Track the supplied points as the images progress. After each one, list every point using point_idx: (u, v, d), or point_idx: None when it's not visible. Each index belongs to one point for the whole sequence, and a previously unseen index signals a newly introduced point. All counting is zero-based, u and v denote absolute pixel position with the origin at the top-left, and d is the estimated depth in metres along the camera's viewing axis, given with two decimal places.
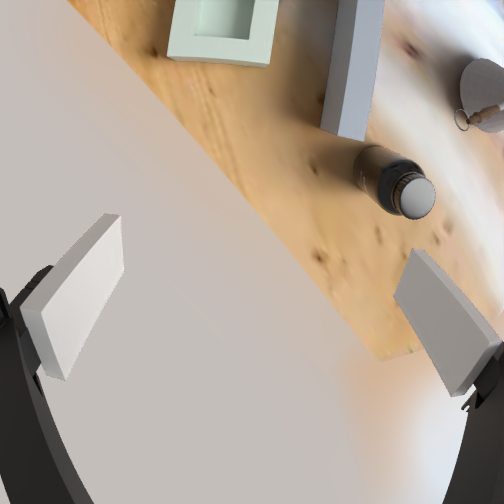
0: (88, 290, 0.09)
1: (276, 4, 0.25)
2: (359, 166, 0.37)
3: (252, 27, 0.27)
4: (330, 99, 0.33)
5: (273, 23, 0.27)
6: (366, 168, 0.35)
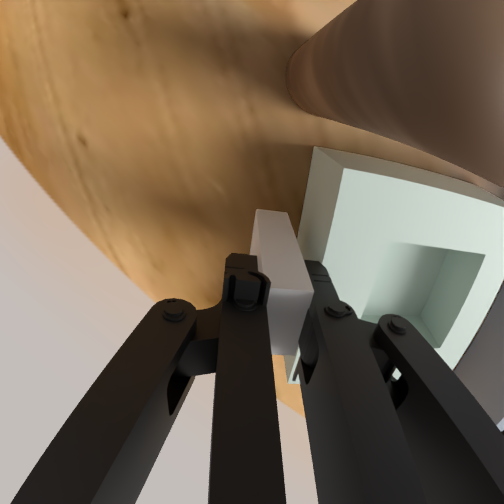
0: None
1: (502, 277, 0.13)
2: None
3: (454, 326, 0.14)
4: (483, 368, 0.20)
5: (484, 314, 0.14)
6: None
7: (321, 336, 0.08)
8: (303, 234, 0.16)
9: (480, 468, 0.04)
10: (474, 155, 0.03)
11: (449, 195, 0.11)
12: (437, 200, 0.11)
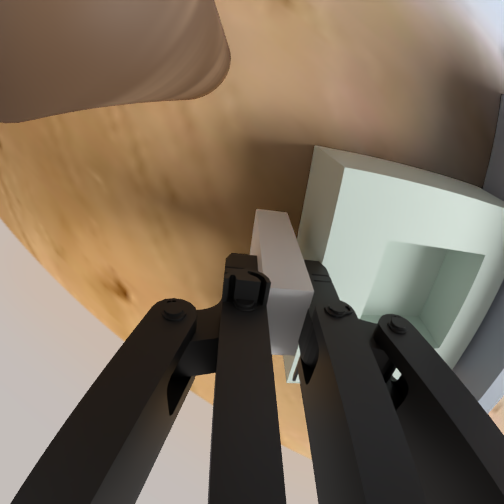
0: None
1: (502, 277, 0.13)
2: None
3: (453, 327, 0.14)
4: None
5: (483, 314, 0.14)
6: None
7: (321, 336, 0.08)
8: (303, 233, 0.16)
9: (480, 468, 0.04)
10: None
11: (449, 196, 0.11)
12: (437, 200, 0.11)
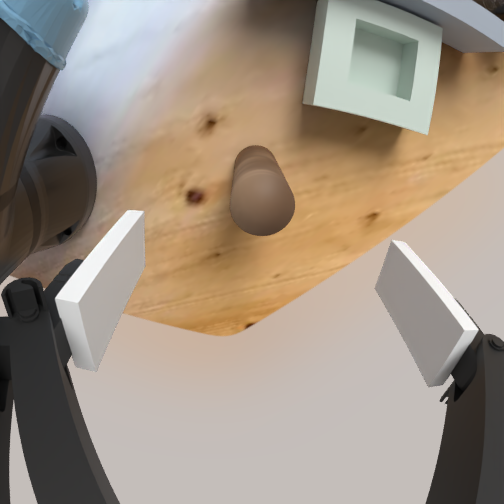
0: (117, 283, 0.10)
1: (371, 0, 0.18)
2: None
3: (403, 33, 0.19)
4: (451, 37, 0.20)
5: (397, 10, 0.18)
6: None
7: (482, 360, 0.07)
8: None
9: None
10: (288, 219, 0.20)
11: (323, 49, 0.20)
12: (326, 56, 0.21)
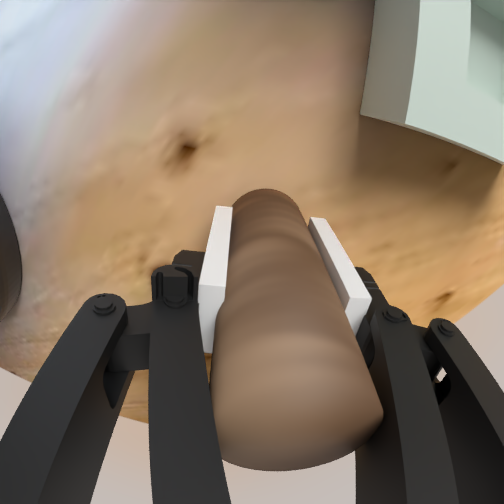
0: None
1: None
2: None
3: None
4: None
5: None
6: None
7: (379, 338, 0.08)
8: (439, 138, 0.13)
9: None
10: (354, 447, 0.07)
11: (423, 9, 0.07)
12: (429, 24, 0.08)
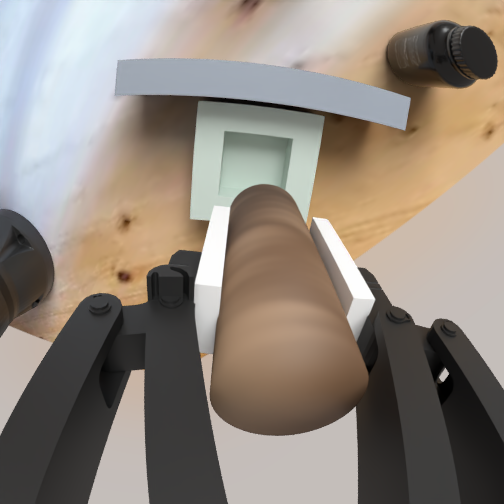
0: None
1: (240, 106, 0.25)
2: (415, 84, 0.26)
3: (275, 134, 0.26)
4: None
5: (269, 109, 0.25)
6: (424, 82, 0.24)
7: (382, 339, 0.08)
8: None
9: None
10: (344, 411, 0.08)
11: (194, 168, 0.27)
12: (197, 175, 0.27)
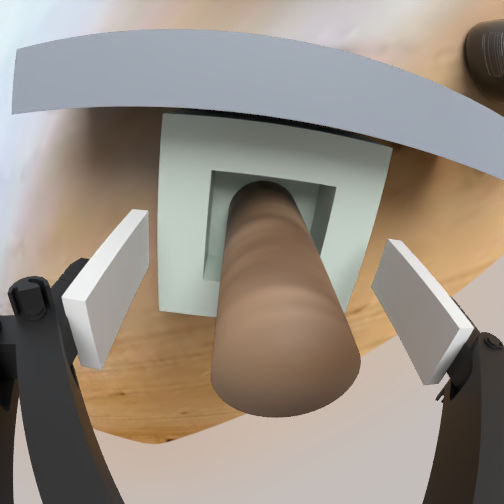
0: (122, 282, 0.10)
1: (242, 123, 0.13)
2: None
3: (306, 178, 0.14)
4: None
5: (296, 131, 0.13)
6: None
7: (478, 358, 0.07)
8: None
9: None
10: (338, 393, 0.08)
11: (160, 236, 0.16)
12: (166, 246, 0.16)
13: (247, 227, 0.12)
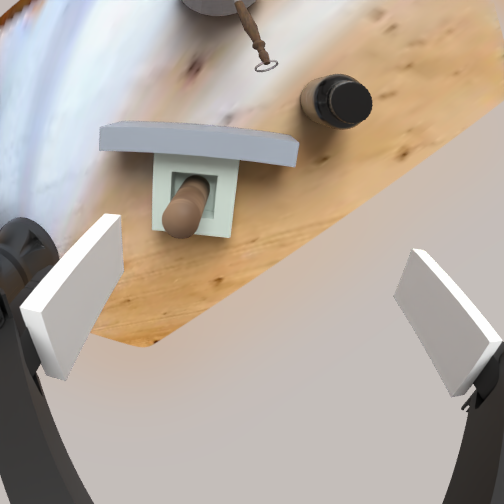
0: (88, 290, 0.09)
1: (181, 154, 0.38)
2: None
3: (205, 173, 0.39)
4: None
5: (200, 156, 0.38)
6: (323, 124, 0.37)
7: None
8: None
9: None
10: (195, 228, 0.33)
11: (153, 196, 0.40)
12: (155, 200, 0.41)
13: (180, 189, 0.37)
